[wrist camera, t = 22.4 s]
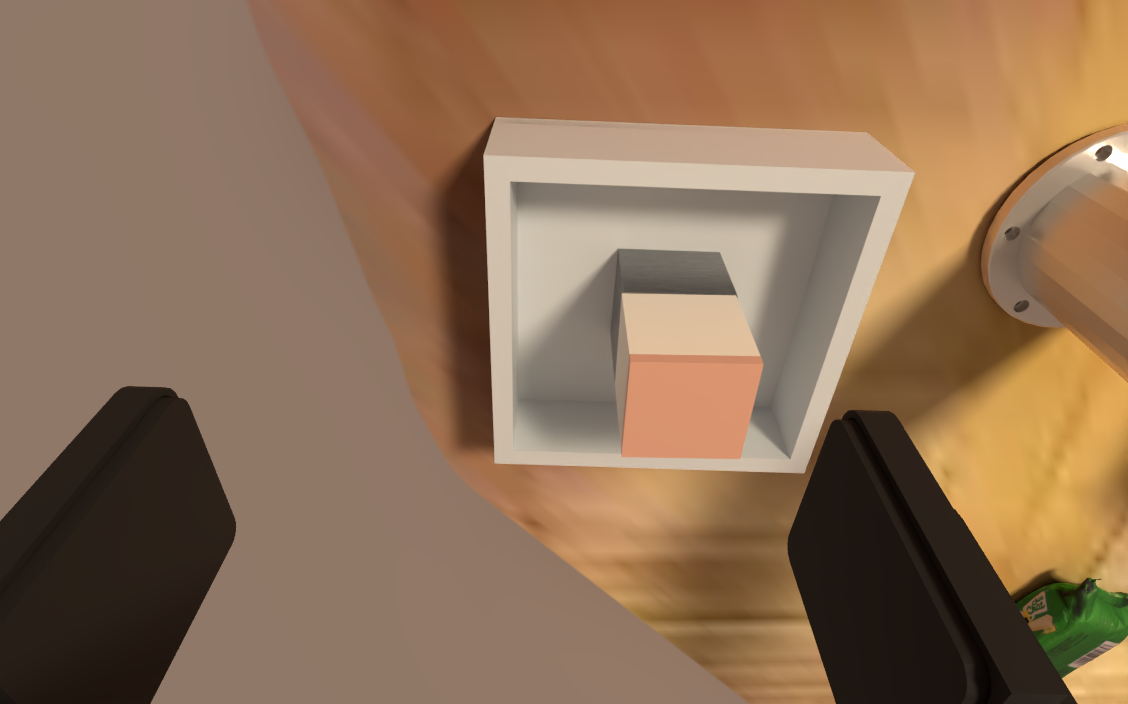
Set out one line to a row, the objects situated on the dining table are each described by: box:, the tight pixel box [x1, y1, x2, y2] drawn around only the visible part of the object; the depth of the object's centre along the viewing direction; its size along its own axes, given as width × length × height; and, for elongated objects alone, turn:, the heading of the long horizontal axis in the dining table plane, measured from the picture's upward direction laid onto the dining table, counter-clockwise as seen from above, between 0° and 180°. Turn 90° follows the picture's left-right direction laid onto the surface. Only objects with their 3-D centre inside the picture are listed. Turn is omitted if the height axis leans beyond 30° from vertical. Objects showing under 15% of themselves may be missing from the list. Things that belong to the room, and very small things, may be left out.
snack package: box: [1015, 578, 1128, 678], centre depth 59 cm, size 7×16×5 cm, turn 160°
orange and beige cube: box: [615, 293, 764, 459], centre depth 33 cm, size 6×6×6 cm
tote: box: [484, 117, 915, 473], centre depth 38 cm, size 20×20×6 cm
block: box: [610, 249, 738, 381], centre depth 37 cm, size 6×6×5 cm
